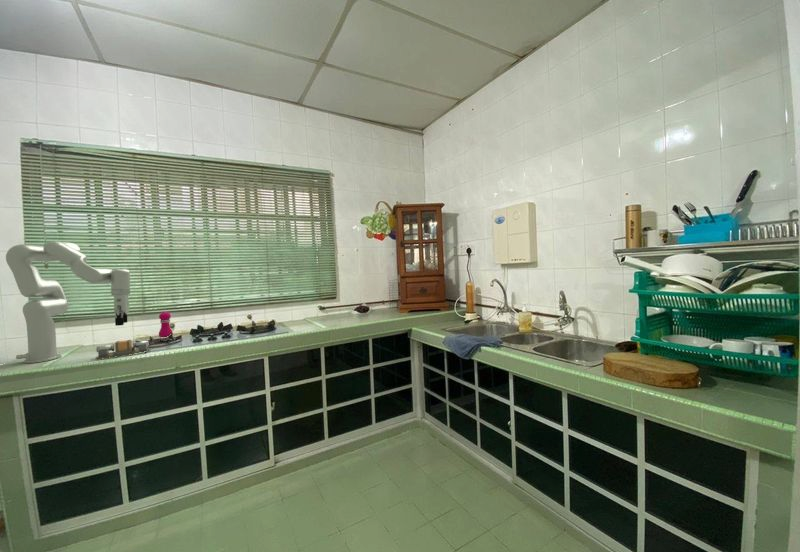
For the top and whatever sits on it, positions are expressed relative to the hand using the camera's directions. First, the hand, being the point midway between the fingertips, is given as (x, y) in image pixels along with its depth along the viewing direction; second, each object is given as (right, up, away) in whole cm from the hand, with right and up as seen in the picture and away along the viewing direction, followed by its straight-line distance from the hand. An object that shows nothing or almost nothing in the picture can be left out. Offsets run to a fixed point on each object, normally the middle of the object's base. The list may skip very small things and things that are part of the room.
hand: (121, 324), depth 163 cm
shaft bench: (+1, -17, 0) cm, 17 cm away
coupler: (+1, -15, 0) cm, 15 cm away
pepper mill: (-1, -16, +32) cm, 36 cm away
